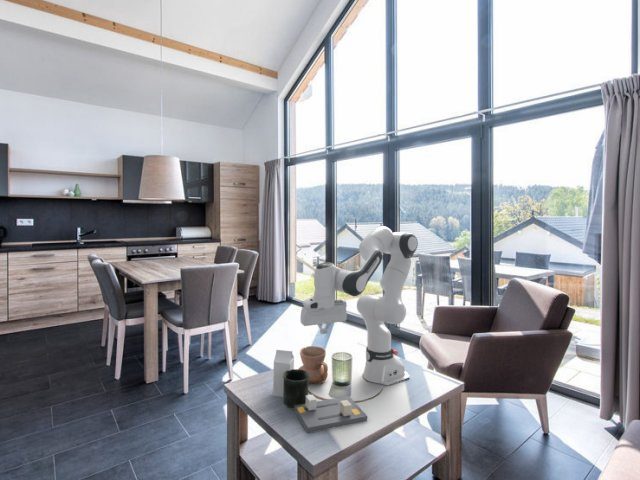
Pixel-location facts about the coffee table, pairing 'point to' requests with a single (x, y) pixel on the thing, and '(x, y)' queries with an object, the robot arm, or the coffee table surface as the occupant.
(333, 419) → the switch panel
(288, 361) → the milk carton
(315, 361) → the ceramic jug
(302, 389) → the mug
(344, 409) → the sand slider
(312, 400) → the off white slider
